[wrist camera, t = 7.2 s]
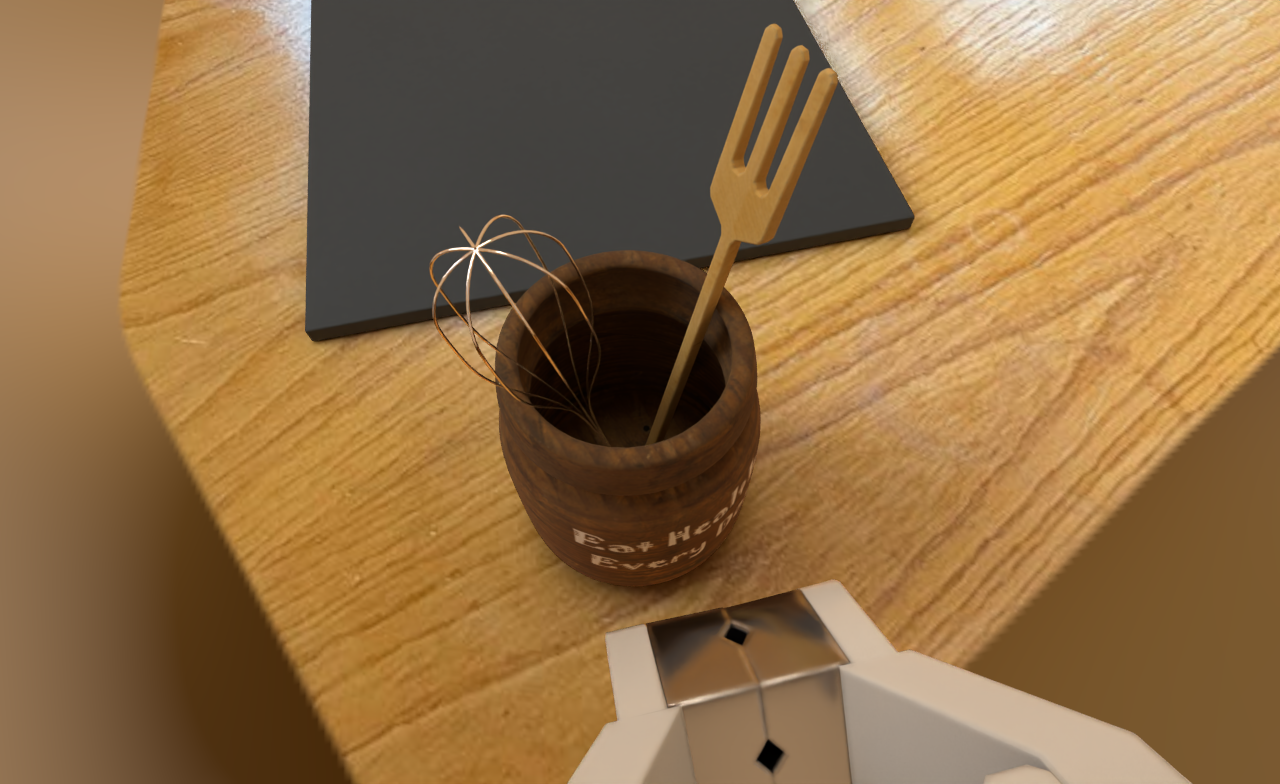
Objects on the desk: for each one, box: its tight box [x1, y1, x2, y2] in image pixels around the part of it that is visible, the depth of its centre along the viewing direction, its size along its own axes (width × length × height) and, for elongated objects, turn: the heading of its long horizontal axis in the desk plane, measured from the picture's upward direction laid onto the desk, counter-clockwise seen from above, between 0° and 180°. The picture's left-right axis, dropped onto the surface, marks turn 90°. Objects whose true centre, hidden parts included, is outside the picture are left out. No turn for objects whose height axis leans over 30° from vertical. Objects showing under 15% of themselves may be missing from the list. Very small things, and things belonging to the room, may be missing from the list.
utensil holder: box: [430, 24, 838, 586], centre depth 14 cm, size 6×6×12 cm
